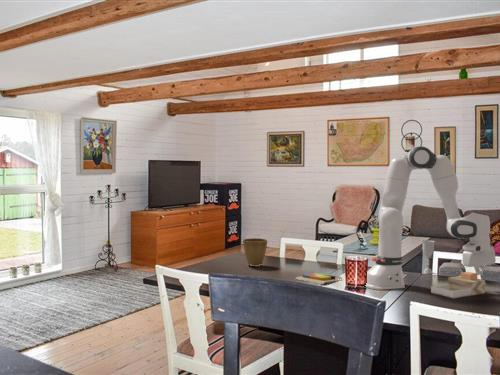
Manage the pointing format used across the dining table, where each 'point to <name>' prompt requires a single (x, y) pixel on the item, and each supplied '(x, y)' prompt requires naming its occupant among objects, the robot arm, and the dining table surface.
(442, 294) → the box
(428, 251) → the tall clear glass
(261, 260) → the plant pot
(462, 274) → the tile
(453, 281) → the bench plate
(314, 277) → the wooden puzzle
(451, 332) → the dining table surface
